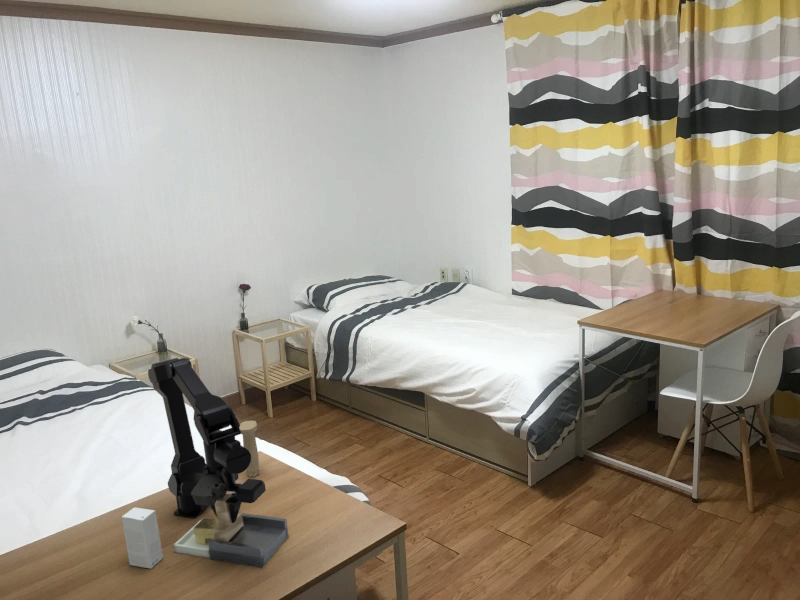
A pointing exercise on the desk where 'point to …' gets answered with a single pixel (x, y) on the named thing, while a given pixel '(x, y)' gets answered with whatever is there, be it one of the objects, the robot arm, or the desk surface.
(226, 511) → the pale step bench
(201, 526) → the wooden block
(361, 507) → the desk surface
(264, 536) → the slot rail
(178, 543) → the tray
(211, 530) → the chip
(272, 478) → the desk surface
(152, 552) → the skincare box
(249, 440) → the handle
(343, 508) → the desk surface
